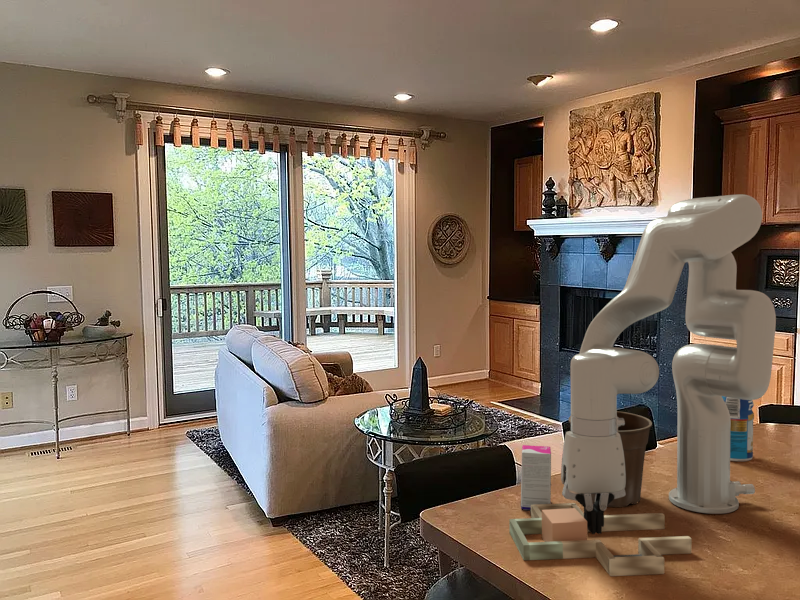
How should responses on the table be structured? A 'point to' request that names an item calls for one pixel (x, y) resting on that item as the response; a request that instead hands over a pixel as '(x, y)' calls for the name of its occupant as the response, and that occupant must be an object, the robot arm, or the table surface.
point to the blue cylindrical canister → (740, 428)
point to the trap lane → (613, 564)
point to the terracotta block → (563, 525)
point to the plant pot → (631, 456)
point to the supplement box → (535, 476)
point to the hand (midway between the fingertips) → (593, 530)
